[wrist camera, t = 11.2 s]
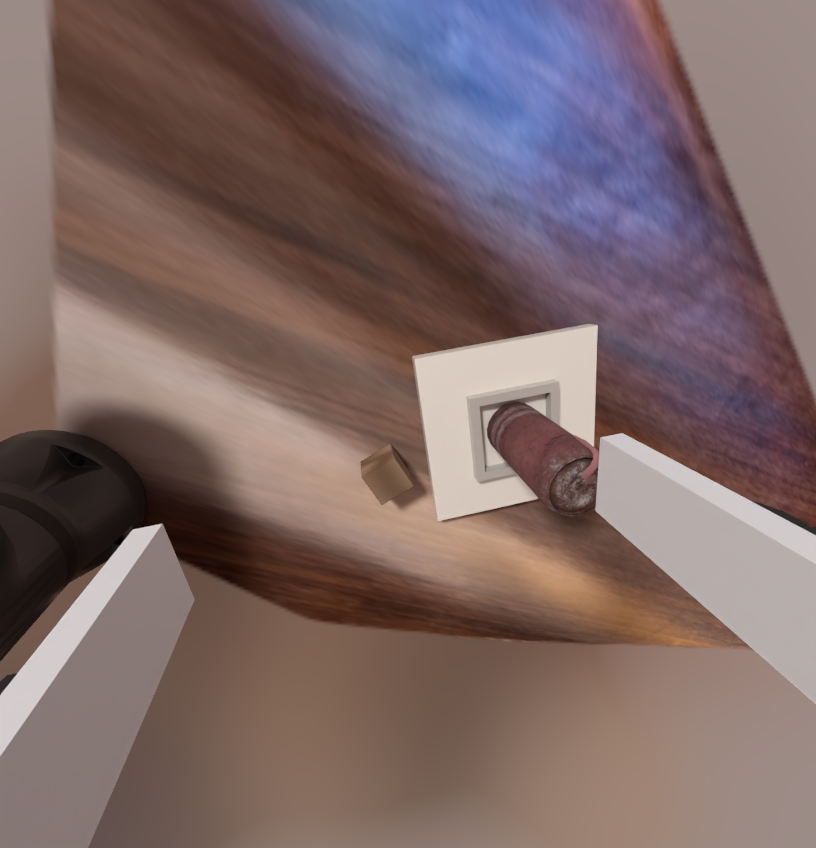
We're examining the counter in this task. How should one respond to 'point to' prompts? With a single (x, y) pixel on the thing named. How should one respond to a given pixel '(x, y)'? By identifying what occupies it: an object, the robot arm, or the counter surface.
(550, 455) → the can
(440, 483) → the board
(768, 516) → the robot arm
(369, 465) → the walnut block
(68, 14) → the counter surface
